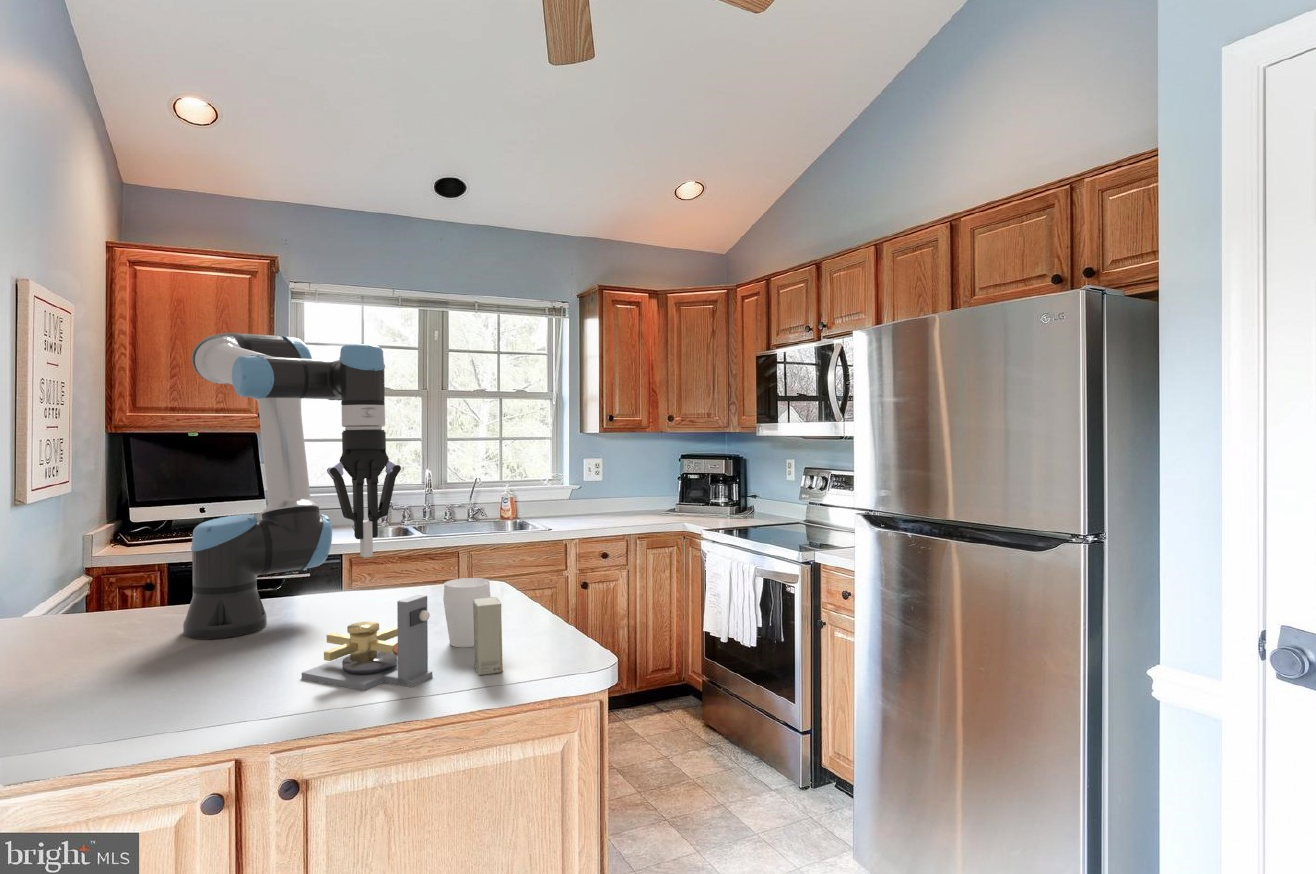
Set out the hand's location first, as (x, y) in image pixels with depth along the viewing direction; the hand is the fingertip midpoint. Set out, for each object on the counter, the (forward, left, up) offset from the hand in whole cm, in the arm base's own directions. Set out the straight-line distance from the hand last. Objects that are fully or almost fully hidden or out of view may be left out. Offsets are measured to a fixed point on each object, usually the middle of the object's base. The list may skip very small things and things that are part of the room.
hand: (366, 556), depth 139 cm
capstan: (+6, -6, -18) cm, 19 cm away
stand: (+8, -6, -19) cm, 22 cm away
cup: (+11, +15, -19) cm, 27 cm away
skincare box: (+24, +4, -19) cm, 31 cm away
